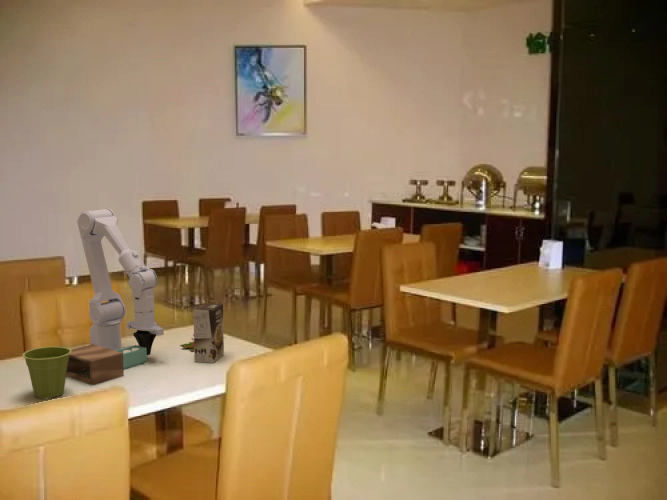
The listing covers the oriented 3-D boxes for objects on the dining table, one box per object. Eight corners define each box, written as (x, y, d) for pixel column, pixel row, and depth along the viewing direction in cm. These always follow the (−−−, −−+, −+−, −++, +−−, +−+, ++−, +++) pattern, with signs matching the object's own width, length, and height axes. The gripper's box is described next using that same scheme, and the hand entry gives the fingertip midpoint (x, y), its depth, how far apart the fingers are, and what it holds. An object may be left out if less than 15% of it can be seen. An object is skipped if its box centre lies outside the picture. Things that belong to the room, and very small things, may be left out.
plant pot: (78, 396, 191) (76, 354, 189) (30, 405, 184) (27, 362, 183) (67, 383, 200) (65, 343, 199) (21, 391, 194) (18, 350, 192)
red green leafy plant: (172, 346, 237) (172, 332, 236) (206, 340, 244) (206, 327, 243) (188, 355, 227) (188, 341, 227) (223, 349, 234) (223, 335, 233)
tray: (108, 367, 214) (107, 352, 213) (136, 359, 222) (135, 344, 221) (118, 371, 211) (118, 355, 210) (146, 362, 219) (146, 347, 218)
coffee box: (214, 363, 218) (213, 310, 216) (193, 362, 220) (192, 309, 217) (224, 354, 227) (223, 303, 225) (205, 353, 228) (203, 302, 226)
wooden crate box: (63, 374, 208) (61, 352, 207) (93, 366, 215) (92, 344, 214) (93, 385, 199) (91, 361, 198) (123, 375, 207) (122, 352, 206)
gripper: (171, 311, 218) (172, 356, 220) (139, 304, 227) (141, 347, 229) (152, 316, 213) (153, 361, 215) (120, 309, 221) (122, 352, 223)
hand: (146, 354), depth 222 cm, fingers closed, pressing on tray
